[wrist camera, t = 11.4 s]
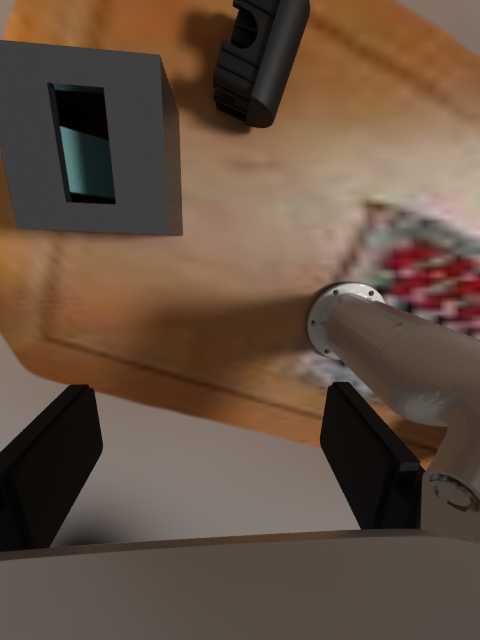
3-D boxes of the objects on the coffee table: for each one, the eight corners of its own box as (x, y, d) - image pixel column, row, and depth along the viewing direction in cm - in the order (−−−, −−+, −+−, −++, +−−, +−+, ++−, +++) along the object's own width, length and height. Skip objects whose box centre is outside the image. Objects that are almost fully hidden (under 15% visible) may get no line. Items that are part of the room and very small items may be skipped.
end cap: (266, 137, 32) (278, 111, 25) (213, 112, 31) (211, 79, 24) (298, 42, 29) (320, -13, 23) (240, 11, 28) (247, -56, 22)
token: (120, 198, 31) (115, 142, 29) (64, 190, 27) (53, 124, 25) (113, 199, 33) (108, 145, 31) (58, 192, 28) (48, 129, 26)
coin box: (178, 112, 30) (159, 54, 21) (182, 235, 34) (168, 234, 25) (55, 103, 29) (-25, 37, 20) (75, 231, 33) (17, 228, 24)
